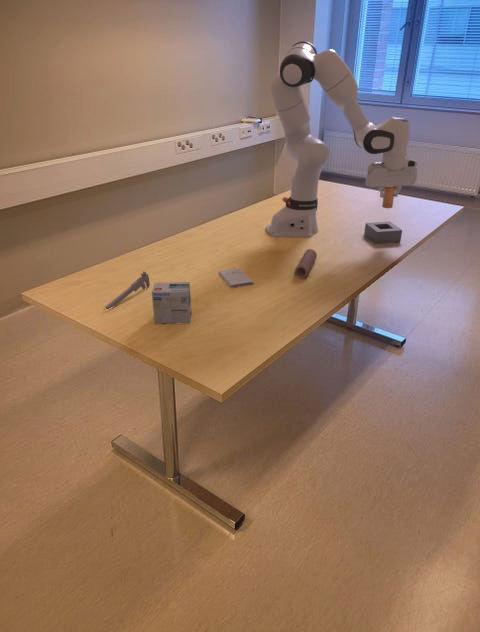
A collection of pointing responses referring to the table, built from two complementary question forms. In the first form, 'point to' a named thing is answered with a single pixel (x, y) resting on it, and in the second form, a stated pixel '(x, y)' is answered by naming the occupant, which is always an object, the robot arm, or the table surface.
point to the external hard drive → (235, 277)
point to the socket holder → (383, 232)
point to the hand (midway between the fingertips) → (388, 196)
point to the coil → (305, 263)
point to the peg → (388, 197)
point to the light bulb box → (171, 302)
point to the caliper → (131, 289)
